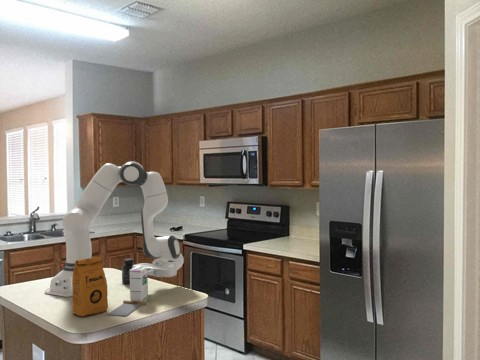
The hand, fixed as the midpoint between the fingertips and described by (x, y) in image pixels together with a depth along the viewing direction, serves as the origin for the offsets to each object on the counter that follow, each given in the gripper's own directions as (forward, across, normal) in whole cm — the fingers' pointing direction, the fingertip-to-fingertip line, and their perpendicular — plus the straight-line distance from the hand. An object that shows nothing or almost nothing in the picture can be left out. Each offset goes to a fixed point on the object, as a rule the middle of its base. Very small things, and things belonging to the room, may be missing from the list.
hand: (143, 274), depth 180 cm
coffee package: (+23, -9, +11) cm, 27 cm away
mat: (+15, +2, +11) cm, 19 cm away
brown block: (+7, +1, +11) cm, 13 cm away
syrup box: (+4, 0, +11) cm, 12 cm away
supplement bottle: (-19, -22, +11) cm, 31 cm away
